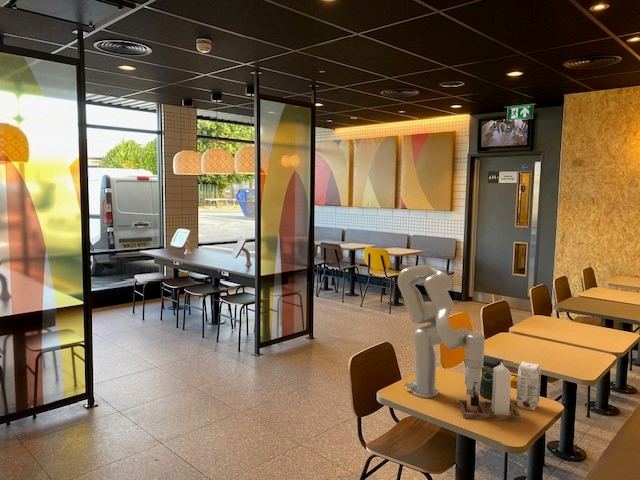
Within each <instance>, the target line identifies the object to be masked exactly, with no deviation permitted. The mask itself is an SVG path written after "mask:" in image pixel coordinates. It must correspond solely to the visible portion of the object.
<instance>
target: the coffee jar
mask: <svg viewBox="0 0 640 480" xmlns="http://www.w3.org/2000/svg"><path fill="white" fill-rule="evenodd" d="M501 362H502V363H503V364H504V361H503V359H501V358H497V357H494V356H489V355H485V356H484V362H483V368H481V386H480V391H479V396H480V397H483V398H485V399H488V400H491V401H492V390H493V369H494V368H495V367H497V366H499V365H501Z"/></svg>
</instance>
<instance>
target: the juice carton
mask: <svg viewBox="0 0 640 480" xmlns="http://www.w3.org/2000/svg"><path fill="white" fill-rule="evenodd" d="M541 378H542V371H541V365H540V364H538V363H537V364H536V363H530V362H527V361H521V363H520V364H519V366H518V368H517V382H516V383H517V384H516V387H517V388H516V403H517V407H518V408H522V409H526V410H529V411H535V409H536V408H537V407H538V406H539V402H540V395H541V393H540V392H541Z"/></svg>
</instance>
